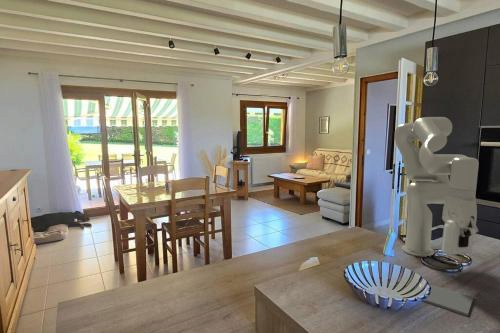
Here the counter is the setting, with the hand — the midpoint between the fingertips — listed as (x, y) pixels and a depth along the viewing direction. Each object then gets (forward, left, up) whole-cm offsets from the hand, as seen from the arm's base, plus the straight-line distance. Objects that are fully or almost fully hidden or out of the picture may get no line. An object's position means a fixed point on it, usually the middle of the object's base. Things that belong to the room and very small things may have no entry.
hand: (457, 243), depth 106 cm
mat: (+10, -12, -14) cm, 21 cm away
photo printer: (0, 0, -4) cm, 4 cm away
